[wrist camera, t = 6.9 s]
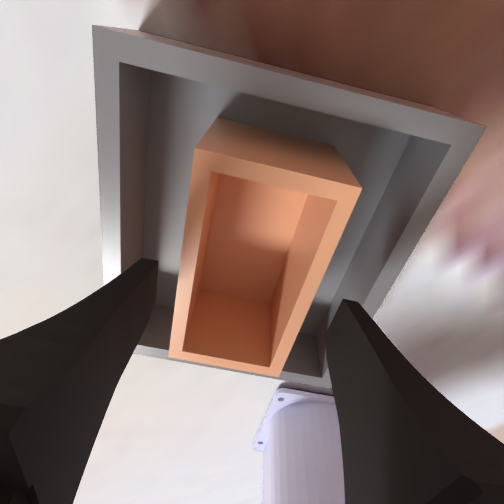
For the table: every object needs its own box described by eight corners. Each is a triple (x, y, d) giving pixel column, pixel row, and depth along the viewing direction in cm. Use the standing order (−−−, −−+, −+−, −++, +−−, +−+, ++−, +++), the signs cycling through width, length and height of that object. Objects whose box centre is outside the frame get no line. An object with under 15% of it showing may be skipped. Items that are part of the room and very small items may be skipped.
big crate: (321, 336, 22) (330, 388, 19) (132, 300, 21) (106, 348, 18) (434, 107, 14) (486, 126, 11) (137, 30, 13) (91, 25, 10)
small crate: (276, 306, 20) (278, 377, 16) (190, 289, 19) (168, 357, 15) (335, 146, 14) (362, 188, 10) (217, 117, 14) (194, 147, 10)
